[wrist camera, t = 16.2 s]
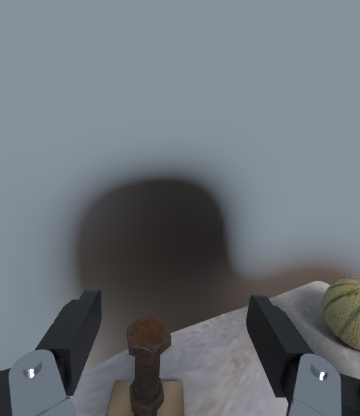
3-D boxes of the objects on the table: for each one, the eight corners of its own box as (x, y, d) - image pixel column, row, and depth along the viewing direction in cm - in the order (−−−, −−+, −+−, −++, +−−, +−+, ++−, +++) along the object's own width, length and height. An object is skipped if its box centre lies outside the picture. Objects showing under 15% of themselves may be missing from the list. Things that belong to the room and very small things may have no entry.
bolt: (118, 432, 30) (117, 341, 26) (133, 393, 35) (135, 312, 31) (160, 446, 29) (166, 353, 25) (169, 404, 34) (176, 320, 30)
